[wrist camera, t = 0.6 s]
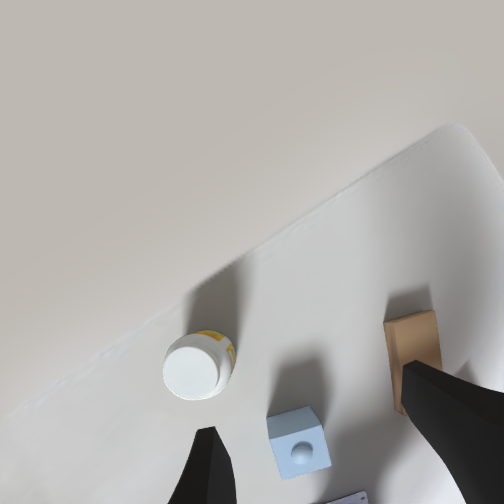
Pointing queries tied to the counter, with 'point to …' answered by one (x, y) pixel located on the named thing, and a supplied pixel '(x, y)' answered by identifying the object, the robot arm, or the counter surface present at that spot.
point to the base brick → (411, 346)
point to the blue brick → (298, 442)
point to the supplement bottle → (199, 365)
